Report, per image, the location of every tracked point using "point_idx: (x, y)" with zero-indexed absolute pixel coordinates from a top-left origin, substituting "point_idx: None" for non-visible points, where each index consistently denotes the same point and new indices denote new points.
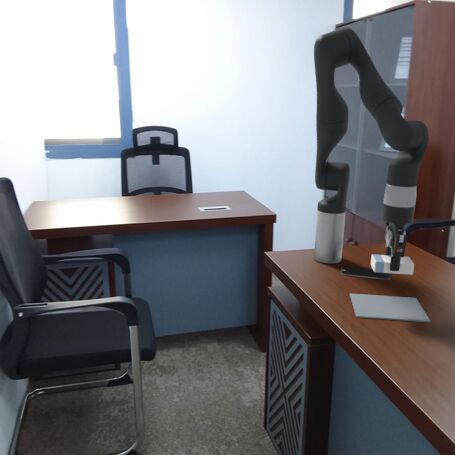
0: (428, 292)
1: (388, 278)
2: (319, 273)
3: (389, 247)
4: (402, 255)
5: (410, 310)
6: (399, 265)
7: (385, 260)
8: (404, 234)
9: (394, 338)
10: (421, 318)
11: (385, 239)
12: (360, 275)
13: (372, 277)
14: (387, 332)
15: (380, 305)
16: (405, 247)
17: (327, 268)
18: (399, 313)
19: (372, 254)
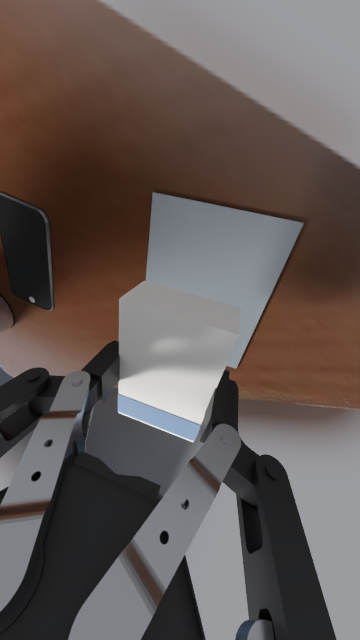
0: (101, 115)
1: (42, 217)
2: (61, 343)
3: (94, 400)
4: (283, 481)
5: (229, 249)
6: (227, 387)
7: (180, 412)
8: (145, 628)
9: (344, 346)
10: (281, 242)
11: (38, 420)
12: (47, 278)
13: (48, 256)
14: (313, 346)
15: None
16: (316, 574)
17: (34, 322)
18: (241, 286)
19: (119, 411)
